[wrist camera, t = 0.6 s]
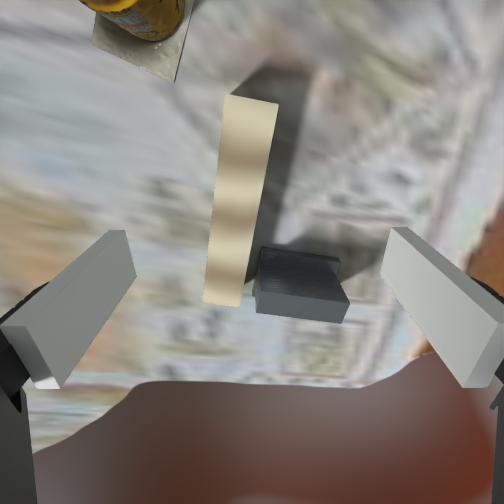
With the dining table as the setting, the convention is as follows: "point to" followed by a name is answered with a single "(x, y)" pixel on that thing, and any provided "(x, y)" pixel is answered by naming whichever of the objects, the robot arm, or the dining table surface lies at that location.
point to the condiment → (142, 31)
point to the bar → (237, 195)
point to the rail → (299, 286)
